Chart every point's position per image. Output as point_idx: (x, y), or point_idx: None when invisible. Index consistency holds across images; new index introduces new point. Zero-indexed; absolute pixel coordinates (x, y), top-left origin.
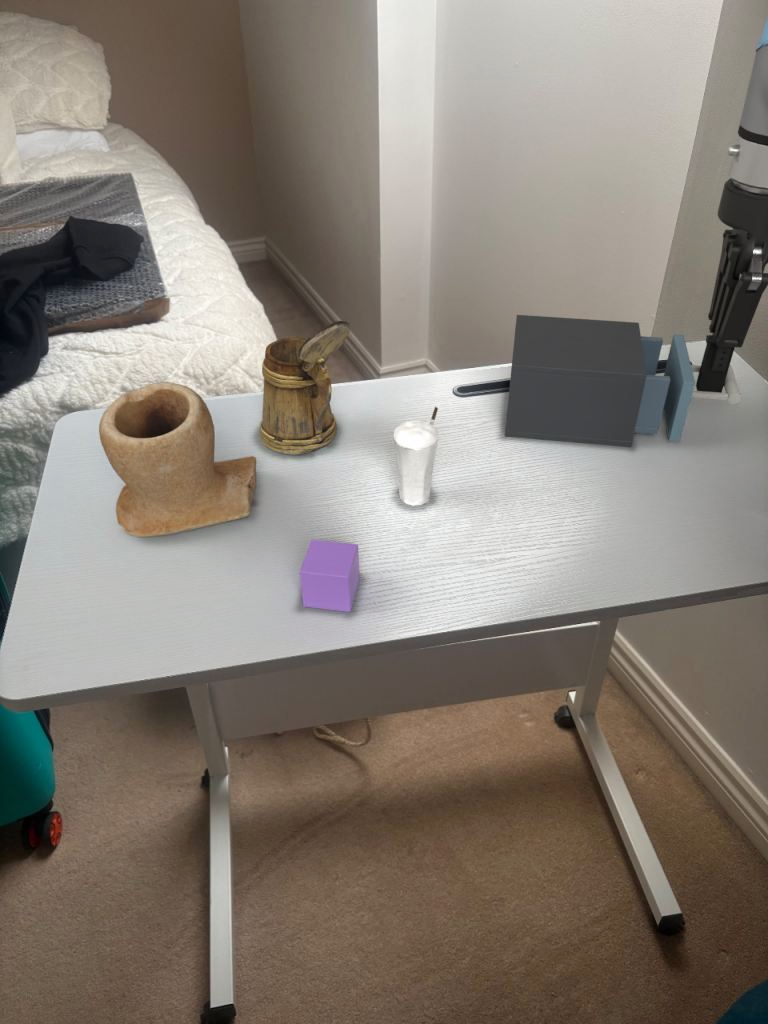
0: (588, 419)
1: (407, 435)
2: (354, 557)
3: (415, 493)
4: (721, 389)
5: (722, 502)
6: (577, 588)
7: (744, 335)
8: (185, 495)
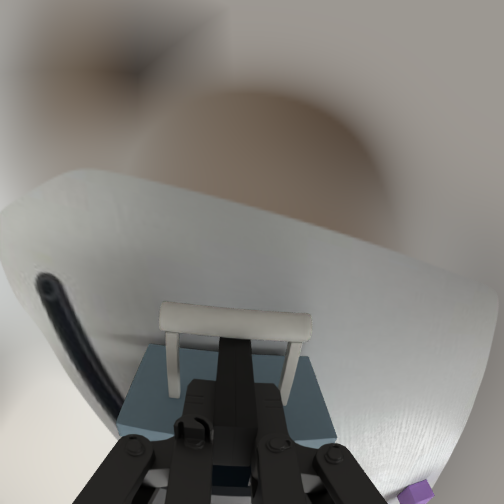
0: None
1: None
2: (423, 499)
3: None
4: None
5: (421, 309)
6: (461, 410)
7: (367, 481)
8: None
